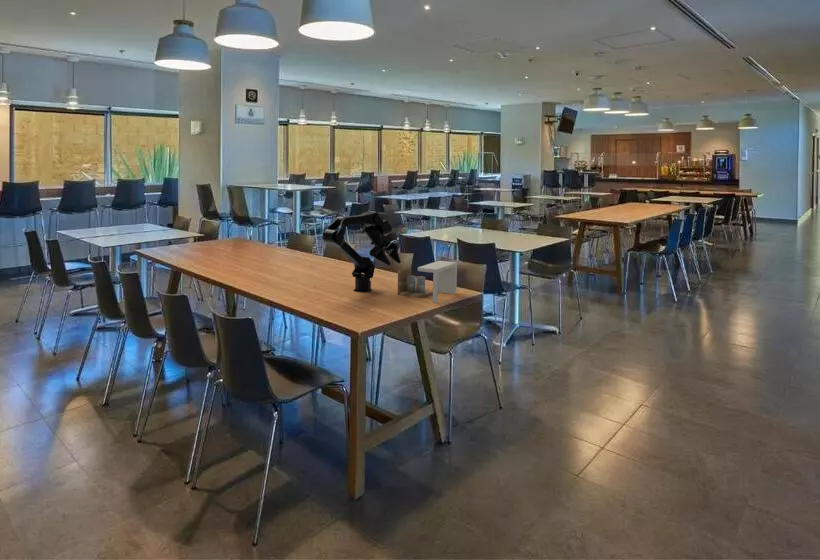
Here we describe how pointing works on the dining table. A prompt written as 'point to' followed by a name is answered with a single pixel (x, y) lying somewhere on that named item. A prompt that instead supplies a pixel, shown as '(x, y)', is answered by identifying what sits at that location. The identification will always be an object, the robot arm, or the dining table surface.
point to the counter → (442, 277)
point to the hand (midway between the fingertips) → (395, 263)
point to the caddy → (411, 284)
